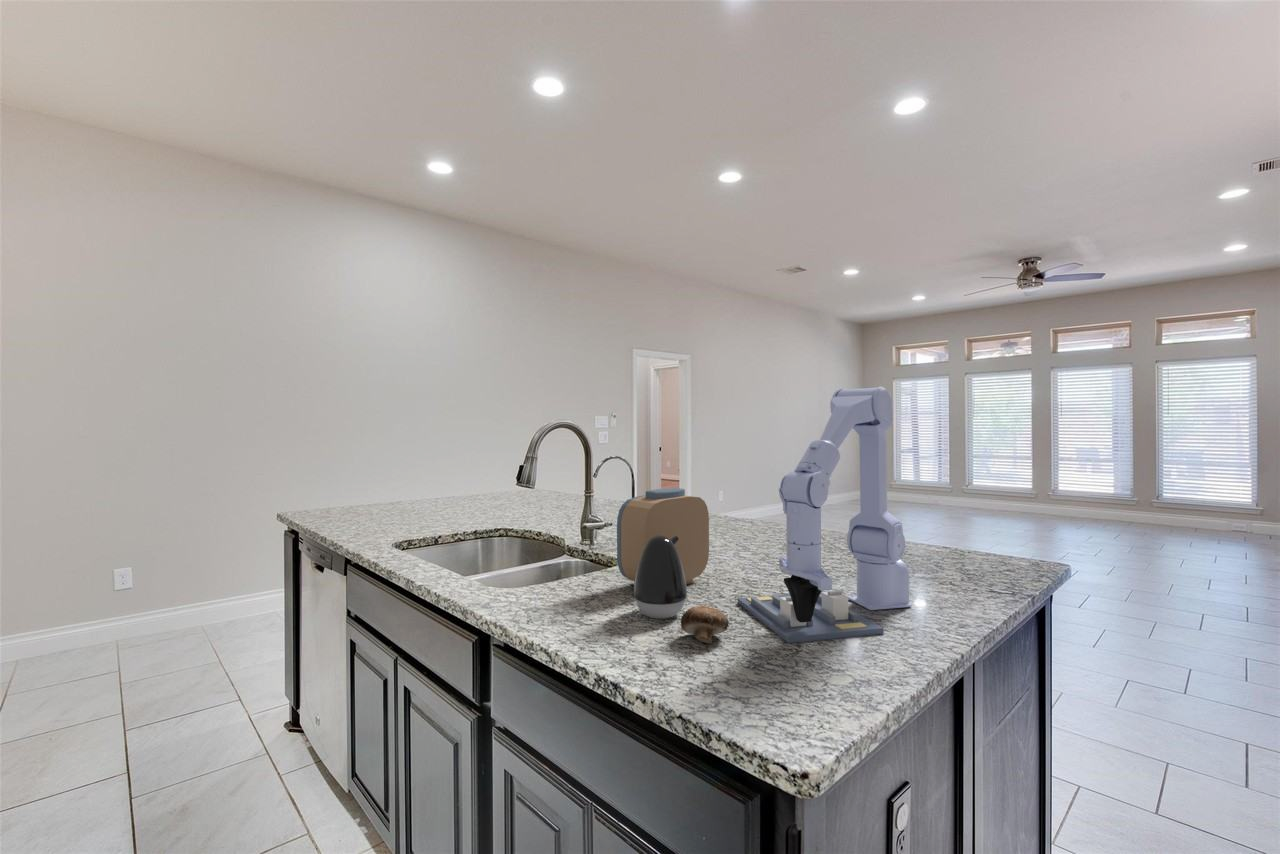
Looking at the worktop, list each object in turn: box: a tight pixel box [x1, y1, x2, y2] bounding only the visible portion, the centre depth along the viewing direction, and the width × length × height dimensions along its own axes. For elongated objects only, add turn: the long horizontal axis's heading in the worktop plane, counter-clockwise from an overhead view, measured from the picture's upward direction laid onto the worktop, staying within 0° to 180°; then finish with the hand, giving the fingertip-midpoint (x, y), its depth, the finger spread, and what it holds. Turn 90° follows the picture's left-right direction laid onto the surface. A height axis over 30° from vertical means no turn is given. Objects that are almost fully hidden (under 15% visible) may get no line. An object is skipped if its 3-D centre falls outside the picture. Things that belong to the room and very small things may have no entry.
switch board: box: [737, 593, 884, 644], centre depth 109 cm, size 18×22×2 cm
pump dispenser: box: [633, 536, 688, 620], centre depth 111 cm, size 10×10×15 cm
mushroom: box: [680, 605, 730, 645], centre depth 98 cm, size 8×8×6 cm
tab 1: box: [780, 596, 806, 627], centre depth 103 cm, size 3×4×5 cm
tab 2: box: [821, 589, 849, 620], centre depth 106 cm, size 3×4×5 cm
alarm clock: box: [616, 487, 710, 586], centre depth 132 cm, size 21×10×22 cm, turn 133°
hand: (803, 620), depth 99 cm, fingers closed
